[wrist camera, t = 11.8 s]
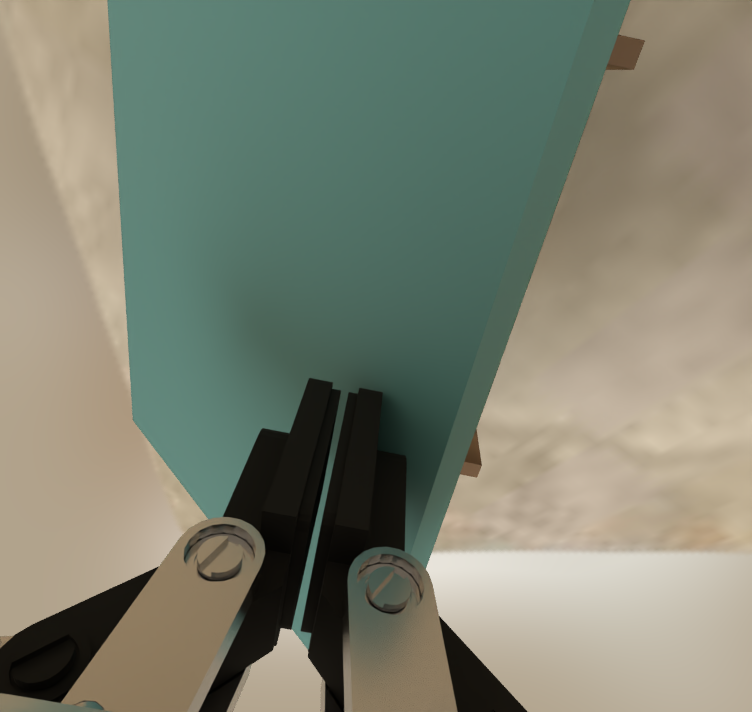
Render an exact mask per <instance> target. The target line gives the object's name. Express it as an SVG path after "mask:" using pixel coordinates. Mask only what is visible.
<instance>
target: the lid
mask: <svg viewBox="0 0 752 712" xmlns="http://www.w3.org/2000/svg"><path fill="white" fill-rule="evenodd" d="M629 3H630V0H108V16H109V33H110V49H111V66H112V83H113V99H114V116H115V132H116V149H117V165H118V182H119V198H120V215H121V232H122V248H123V265H124V281H125V298H126V314H127V331H128V347H129V364H130V381H131V397H132V414H133V421H134V422H135V424H136V425H137V426H138V428H139V429H140V430H141V432H142V433H143V434H144V435H145V437H146V438H147V439H148V441H149V442H150V443H151V445H152V446H153V447H154V449H155V450H156V451H157V452H158V454H159V455H160V456H161V458H162V459H163V460H164V462H165V463H166V464H167V466H168V467H169V468H170V470H171V471H172V472H173V473H174V475H175V476H176V477H177V479H178V480H179V481H180V483H181V484H182V485H183V487H184V488H185V489H186V490H187V492H188V493H189V494H190V496H191V497H192V498H193V500H194V501H195V502H196V504H197V505H198V506H199V508H200V509H201V510H202V511H203V513H204V514H205V515H206V517H207V518H208V519H211V518H219V517H223V515H224V512H225V510H226V508H227V506H228V503H229V501H230V499H231V496H232V494H233V492H234V489H235V487H236V485H237V483H238V480H239V478H240V476H241V473H242V471H243V469H244V467H245V464H246V462H247V460H248V457H249V455H250V453H251V450H252V448H253V446H254V444H255V441H256V439H257V437H258V434H259V432H260V431H261V429H262V428H265V429H270V430H276V431H281V432H286V433H290V431H291V428H292V425H293V422H294V419H295V416H296V414H297V411H298V408H299V405H300V402H301V399H302V396H303V394H304V391H305V388H306V385H307V382H308V380H309V378H314V379H319V380H324V381H329V382H333V387H332V389H336V390H341V394H340V400H339V405H338V411H337V416H336V421H335V427H334V432H333V437H332V443H331V448H330V454H329V459H328V464H327V470H326V475H325V480H324V485H323V490H322V495H321V499H320V504H319V508H318V513H317V517H316V522H315V526H314V531H313V535H312V540H311V544H310V549H309V553H308V558H307V562H306V567H305V571H304V576H303V580H302V584H301V589H300V593H299V598H298V602H297V607H296V611H295V616H294V620H293V625H292V629H293V631H294V632H295V633H296V635H297V636H298V637H299V639H300V640H301V641H302V642H303V644H304V645H305V646H306V648H307V649H309V644H310V638H311V633H307V632H301V626H302V620H303V615H304V610H305V605H306V600H307V594H308V589H309V584H310V579H311V574H312V568H313V563H314V558H315V553H316V548H317V543H318V537H319V532H320V527H321V522H322V517H323V512H324V507H325V503H326V498H327V493H328V488H329V484H330V479H331V474H332V469H333V464H334V460H335V455H336V450H337V445H338V441H339V436H340V431H341V426H342V422H343V417H344V412H345V407H346V402H347V398H348V393H349V392H352V393H357V394H358V391H359V388H364V389H369V390H375V391H380V392H383V396H382V406H381V416H380V426H379V435H378V445H377V450H379V451H384V452H389V453H395V454H400V455H405V456H406V458H407V472H406V518H405V552H406V553H408V554H410V555H412V556H413V557H414V558H415V559H417V560H418V561H419V562H420V563H421V564H422V565H423V567H424V568H425V569H426V566H427V564H428V561H429V558H430V555H431V553H432V550H433V547H434V544H435V542H436V539H437V536H438V533H439V531H440V528H441V525H442V522H443V519H444V517H445V514H446V511H447V508H448V506H449V503H450V500H451V497H452V494H453V492H454V489H455V486H456V483H457V481H458V478H459V475H460V472H461V469H462V467H463V464H464V461H465V458H466V456H467V453H468V450H469V447H470V444H471V442H472V439H473V436H474V433H475V431H476V428H477V425H478V422H479V419H480V417H481V414H482V411H483V408H484V406H485V403H486V400H487V397H488V394H489V392H490V389H491V386H492V383H493V381H494V378H495V375H496V372H497V370H498V367H499V364H500V361H501V358H502V356H503V353H504V350H505V347H506V345H507V342H508V339H509V336H510V333H511V331H512V328H513V325H514V322H515V320H516V317H517V314H518V311H519V308H520V306H521V303H522V300H523V297H524V295H525V292H526V289H527V286H528V283H529V281H530V278H531V275H532V272H533V270H534V267H535V264H536V261H537V258H538V256H539V253H540V250H541V247H542V245H543V242H544V239H545V236H546V233H547V231H548V228H549V225H550V222H551V220H552V217H553V214H554V211H555V209H556V206H557V203H558V200H559V197H560V195H561V192H562V189H563V186H564V184H565V181H566V178H567V175H568V172H569V170H570V167H571V164H572V161H573V159H574V156H575V153H576V150H577V147H578V145H579V142H580V139H581V136H582V134H583V131H584V128H585V125H586V122H587V120H588V117H589V114H590V111H591V109H592V106H593V103H594V100H595V97H596V95H597V92H598V89H599V86H600V84H601V81H602V78H603V75H604V73H605V70H606V67H607V64H608V61H609V59H610V56H611V53H612V50H613V48H614V45H615V42H616V39H617V36H618V34H619V31H620V28H621V25H622V23H623V20H624V17H625V14H626V11H627V9H628V6H629Z"/></svg>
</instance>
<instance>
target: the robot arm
mask: <svg viewBox="0 0 752 712" xmlns="http://www.w3.org/2000/svg"><path fill="white" fill-rule="evenodd" d="M332 387H333V382H329V381H324V380H319V379H314V378H309V380H308V382H307V385H306V388H305V391H304V394H303V396H302V399H301V402H300V405H299V408H298V411H297V414H296V416H295V419H294V422H293V425H292V428H291V431H290V433H286V432H281V431H276V430H270V429H265V428H262V429H261V431H260V432H259V434H258V437H257V439H256V441H255V444H254V446H253V448H252V450H251V453H250V455H249V457H248V460H247V462H246V464H245V467H244V469H243V471H242V473H241V476H240V478H239V480H238V483H237V485H236V487H235V489H234V492H233V494H232V496H231V499H230V501H229V503H228V506H227V508H226V510H225V512H224V515H223V517H219V518H211V519H208V520H205V521H201V522H199V523H198V524H196V525H194V526H193V527H191V528H189V529H188V530H187V531H186V532H185V533H184V534H183V535H182V536H181V537H180V539H179V540H178V541H177V543H176V544H175V545H174V547H173V548H172V549H171V551H170V552H169V554H168V555H167V556H166V558H165V559H164V561H163V562H162V564H161V565H160V566H159V567H157V568H155V569H153V570H150V571H148V572H146V573H144V574H142V575H140V576H137V577H135V578H133V579H131V580H128V581H126V582H124V583H122V584H120V585H117V586H115V587H113V588H111V589H109V590H107V591H104V592H102V593H100V594H98V595H96V596H94V597H91V598H89V599H87V600H85V601H83V602H80V603H78V604H76V605H74V606H72V607H70V608H67V609H65V610H63V611H61V612H59V613H56V614H55V615H52V616H50V617H48V618H46V619H44V620H41V621H39V622H37V623H35V624H33V625H31V626H29V627H27V628H26V629H24V630H22V631H21V632H19V633H17V634H16V635H14V636H2V637H0V712H233V710H234V708H235V705H236V703H237V701H238V699H239V696H240V694H241V691H242V689H243V687H244V685H245V683H246V680H247V678H248V675H249V672H250V668H251V664H252V663H254V662H256V661H257V660H259V659H260V658H262V657H263V656H265V655H266V654H268V653H269V652H271V651H272V650H273V647H274V646H276V645H277V641H278V637H279V632H280V628H285V629H290V630H291V629H292V625H293V620H294V616H295V611H296V607H297V602H298V598H299V593H300V589H301V584H302V580H303V576H304V571H305V567H306V562H307V558H308V553H309V549H310V544H311V540H312V535H313V531H314V526H315V522H316V517H317V513H318V508H319V504H320V499H321V495H322V490H323V485H324V480H325V475H326V470H327V464H328V459H329V454H330V448H331V443H332V437H333V432H334V427H335V421H336V416H337V411H338V405H339V400H340V394H341V390H336V389H332ZM382 396H383V392H380V391H375V390H369V389H364V388H359V391H358V394H357V393H352V392H349V393H348V398H347V402H346V407H345V412H344V417H343V422H342V426H341V431H340V436H339V441H338V445H337V450H336V455H335V460H334V464H333V469H332V474H331V479H330V484H329V488H328V493H327V498H326V503H325V507H324V512H323V517H322V522H321V527H320V532H319V537H318V543H317V548H316V553H315V558H314V563H313V568H312V574H311V579H310V584H309V589H308V594H307V600H306V605H305V610H304V615H303V620H302V626H301V632H307V633H311V638H310V644H309V649H308V652H309V653H308V658H309V659H310V660H311V662H312V663H313V665H314V666H315V668H316V669H317V671H318V672H319V674H320V675H321V677H322V684H321V712H527V711H526V710H525V709H524V708H523V706H522V705H521V704H520V703H519V702H518V701H517V700H516V699H515V698H514V697H513V696H512V694H511V693H510V692H509V691H508V690H507V689H506V688H505V687H504V686H503V685H502V684H501V683H500V681H499V680H498V679H497V678H496V677H495V676H494V675H493V674H492V673H491V672H490V671H489V669H487V667H486V666H485V665H484V664H483V663H482V662H481V661H480V660H479V659H478V658H477V656H476V655H475V654H474V653H473V652H472V651H471V650H470V649H469V648H468V647H467V646H466V645H465V644H464V642H463V641H462V640H461V639H460V638H459V637H458V636H457V635H456V634H455V633H454V632H453V630H451V628H450V627H449V626H448V625H447V624H446V623H445V622H444V621H443V620H442V619H441V617H440V616H439V615H438V610H437V605H436V600H435V595H434V589H433V585H432V582H431V579H430V576H429V574H428V572H427V571H426V569H425V568H424V567H423V565H422V564H421V563H420V562H419V561H418V560H417V559H415V558H414V557H413V556H412V555H410V554H408V553H406V552H405V518H406V472H407V458H406V456H405V455H400V454H395V453H389V452H384V451H379V450H377V445H378V435H379V426H380V416H381V406H382Z"/></svg>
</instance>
